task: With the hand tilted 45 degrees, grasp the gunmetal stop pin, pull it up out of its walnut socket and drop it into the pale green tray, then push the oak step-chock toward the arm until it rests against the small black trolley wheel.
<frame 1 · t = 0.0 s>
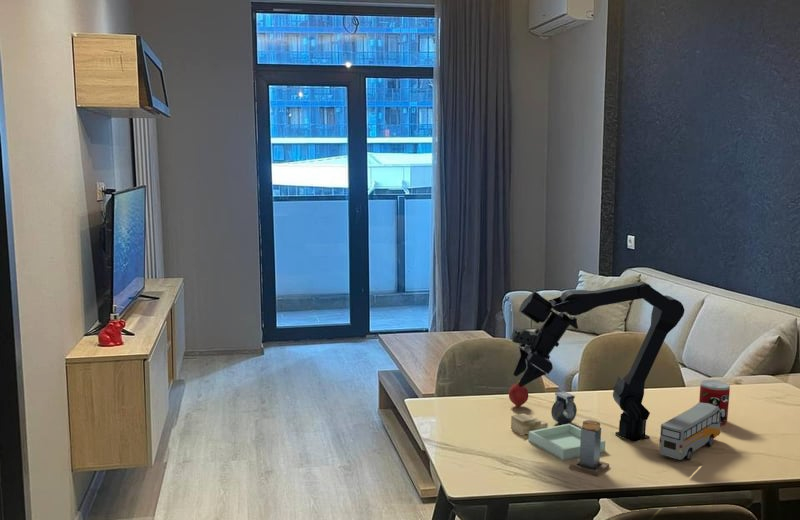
hand: (517, 380, 192), 15 cm above the table, tool tilted 35°, fingers open, 9 cm apart
toy bus: (690, 450, 185), on the table
onion: (518, 407, 217), on the table
pin socket: (589, 469, 172), on the table
chock: (529, 431, 198), on the table
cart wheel: (563, 423, 203), on the table
tray: (566, 447, 186), on the table
stop pin: (589, 467, 172), resting on pin socket
canned food: (712, 421, 207), on the table
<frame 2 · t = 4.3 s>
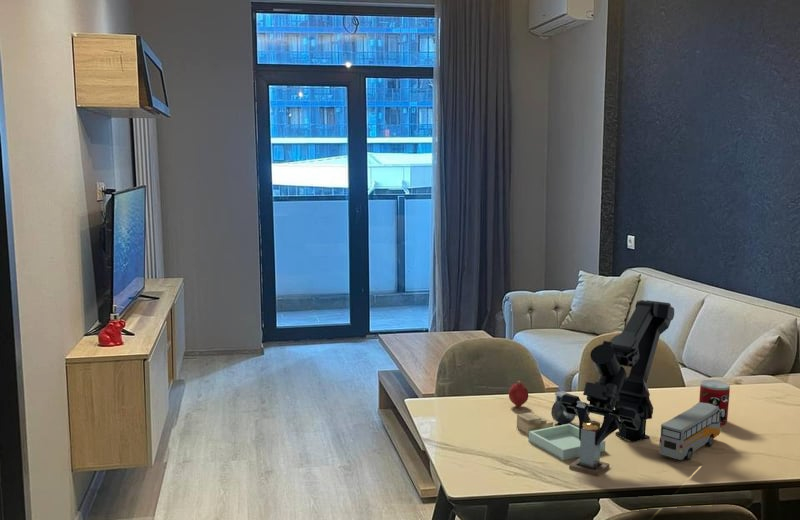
hand: (588, 442, 170), 7 cm above the table, tool tilted 45°, fingers closed on stop pin, 3 cm apart
chock: (534, 429, 198), on the table
stop pin: (589, 467, 172), resting on pin socket, touching gripper
everything else where it was.
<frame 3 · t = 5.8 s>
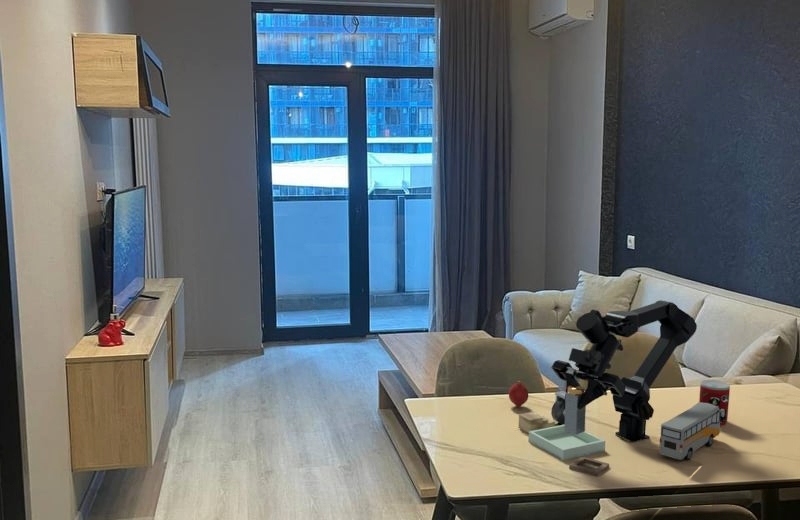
hand: (572, 406, 177), 13 cm above the table, tool tilted 45°, fingers closed on stop pin, 3 cm apart
stop pin: (574, 431, 179), point 7 cm above the table, touching gripper
when the fingers open (8 cm above the table, at t = 7.6 s): stop pin drops 1 cm, resting on tray.
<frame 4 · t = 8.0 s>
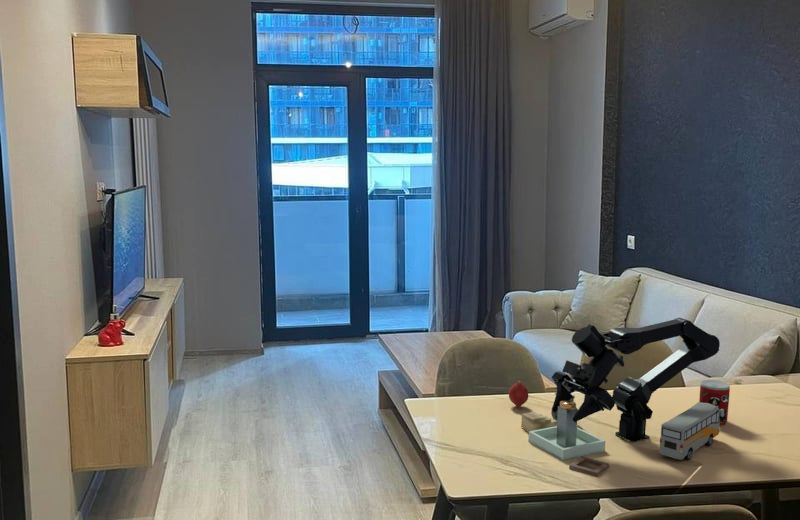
hand: (563, 416, 184), 9 cm above the table, tool tilted 45°, fingers open, 8 cm apart
stop pin: (566, 444, 186), point 1 cm above the table, touching tray
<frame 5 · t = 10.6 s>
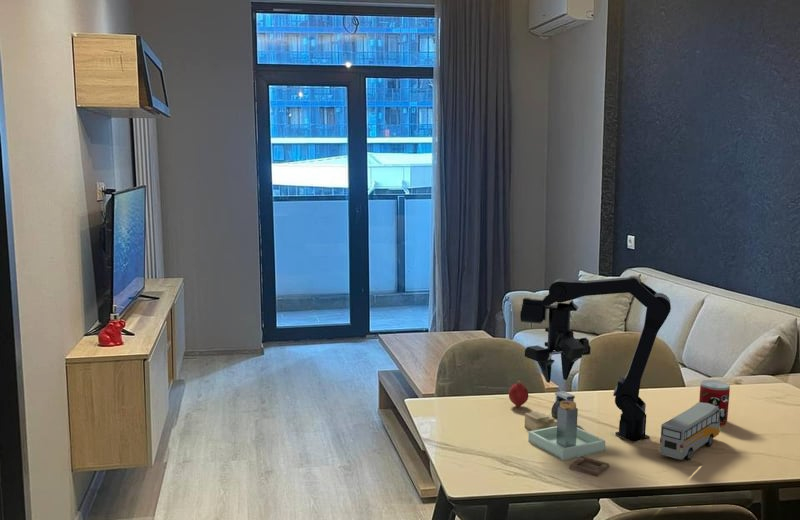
hand: (556, 381, 199), 13 cm above the table, tool pointing down, fingers open, 6 cm apart
chock: (542, 428, 200), on the table
everything else where it was.
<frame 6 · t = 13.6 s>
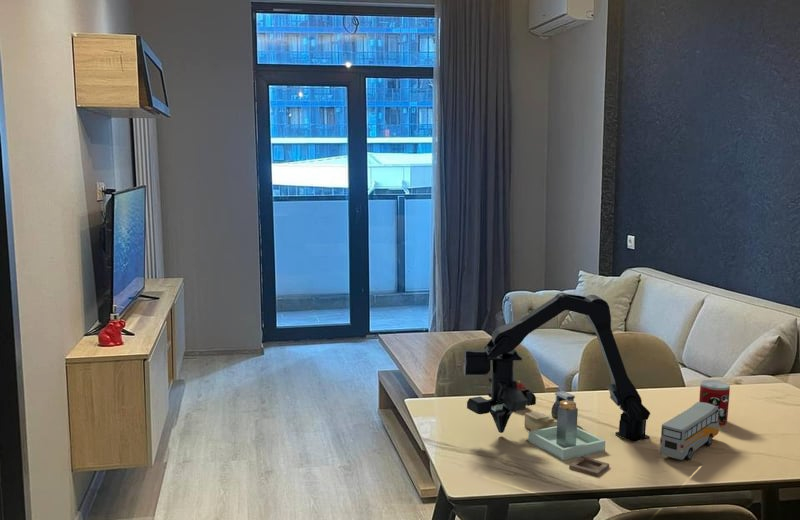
hand: (501, 432, 193), 1 cm above the table, tool pointing down, fingers closed
nothing on the table moved.
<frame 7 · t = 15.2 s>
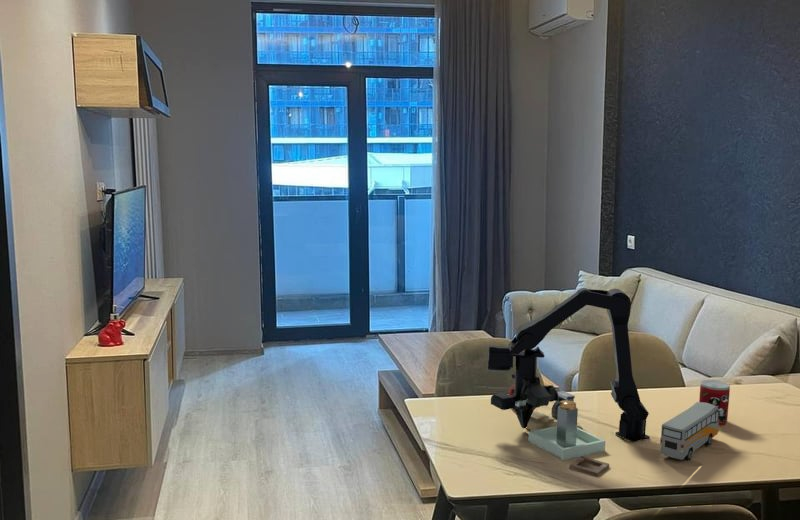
hand: (523, 427, 197), 1 cm above the table, tool pointing down, fingers closed
nothing on the table moved.
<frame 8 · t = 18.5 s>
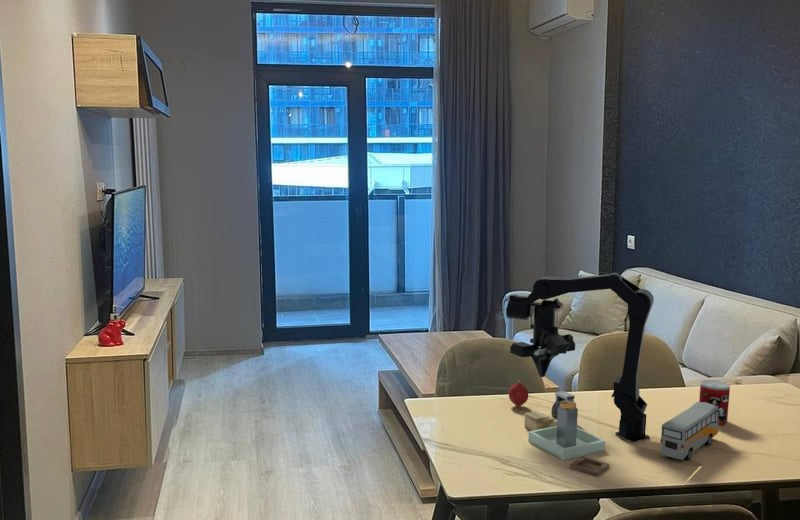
hand: (541, 376, 203), 13 cm above the table, tool pointing down, fingers closed
nothing on the table moved.
at the end: stop pin inside the target area on the tray (0.0 cm from its centre), point 0.8 cm above the tray's base; the gripper is holding nothing; chock 0.0 cm from the target spot, on the table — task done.
